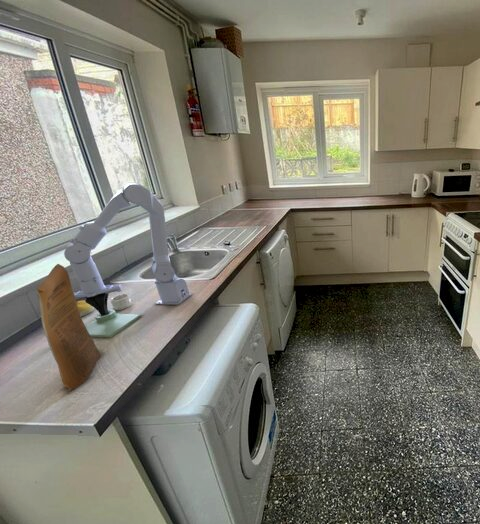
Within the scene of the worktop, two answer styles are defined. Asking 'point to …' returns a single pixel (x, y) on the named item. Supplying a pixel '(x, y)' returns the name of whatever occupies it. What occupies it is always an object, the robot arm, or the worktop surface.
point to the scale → (110, 323)
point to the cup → (121, 301)
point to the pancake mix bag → (66, 329)
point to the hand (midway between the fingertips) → (104, 313)
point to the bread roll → (84, 308)
